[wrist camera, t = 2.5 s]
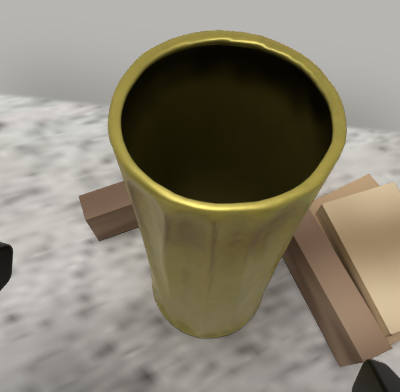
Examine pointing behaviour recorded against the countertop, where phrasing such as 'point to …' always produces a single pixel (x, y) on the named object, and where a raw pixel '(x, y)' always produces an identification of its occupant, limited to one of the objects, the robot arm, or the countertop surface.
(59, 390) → the countertop surface
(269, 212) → the vase
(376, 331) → the offcut rack
